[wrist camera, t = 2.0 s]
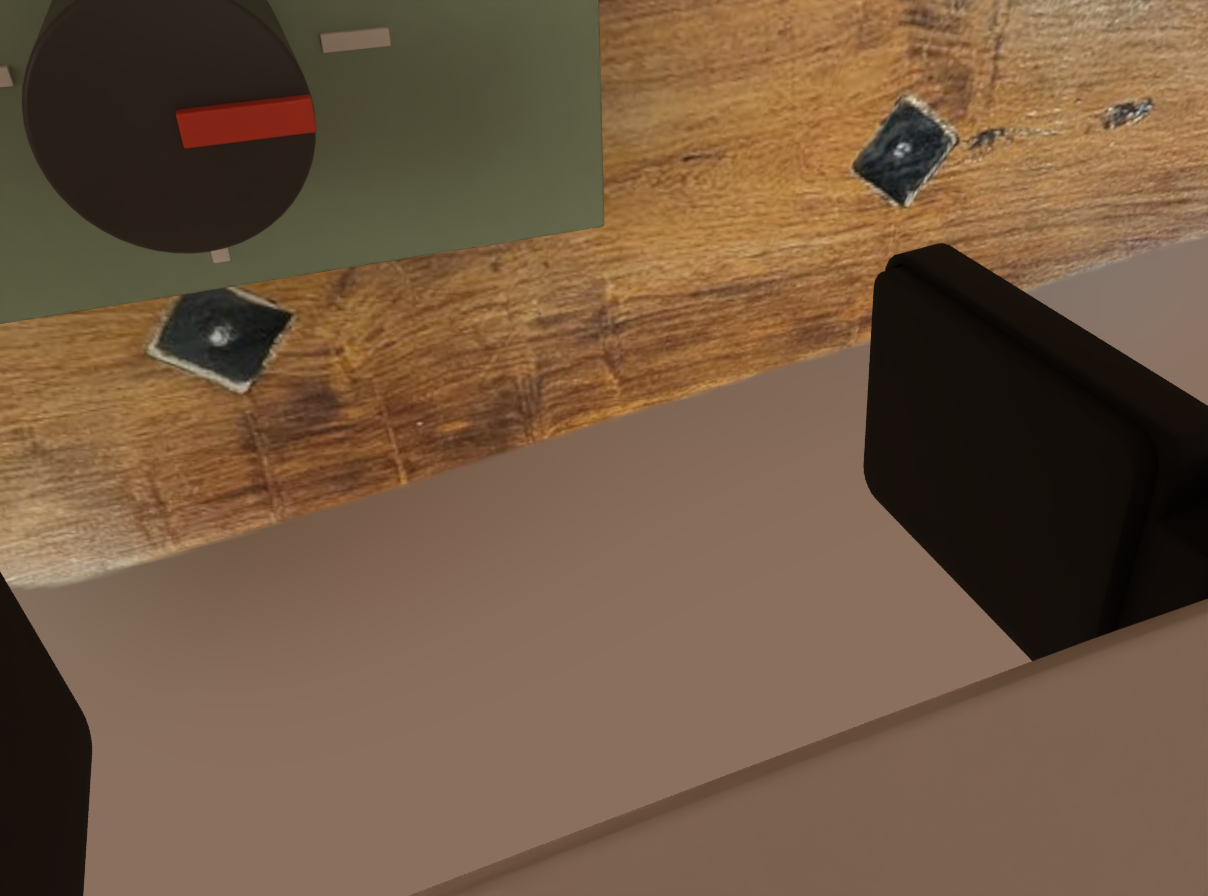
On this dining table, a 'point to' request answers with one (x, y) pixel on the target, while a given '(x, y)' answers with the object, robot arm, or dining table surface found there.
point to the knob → (169, 118)
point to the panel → (350, 151)
